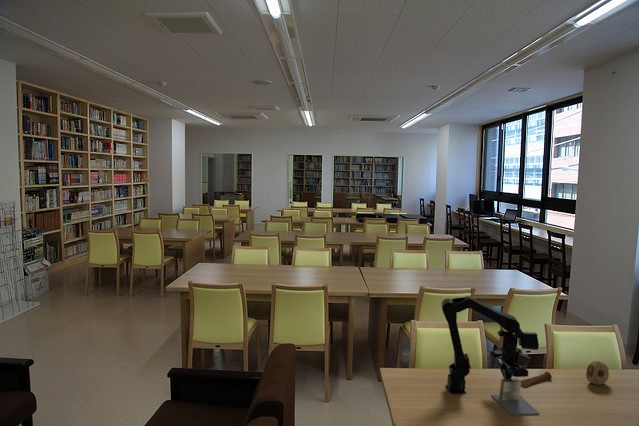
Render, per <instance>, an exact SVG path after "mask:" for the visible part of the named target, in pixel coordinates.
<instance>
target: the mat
mask: <svg viewBox="0 0 639 426" xmlns="http://www.w3.org/2000/svg"><path fill="white" fill-rule="evenodd" d="M499 395H500V394H491V395H490V396H491V398H492V399H493V400H495V402H496V403H498V405H499V406H500V407H501V408H503V410H504V411H505V412H506V413H507V414H508V415H509V416H513V417H514V416H530V415H531V416H532V415H534V416H535V415H540V414H541V413H540V412H539V411H538V410H537V409H536V408H535V407H533V405H532V404H530V403H529V402H528V401H527V400H526V399H525V398H524V397H522V396H521V395H520V394H519V400H502V399H501V398H500V397H499Z"/></svg>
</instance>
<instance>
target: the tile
mask: <svg viewBox="0 0 639 426" xmlns="http://www.w3.org/2000/svg"><path fill="white" fill-rule="evenodd" d="M521 388H522V387H521V380H520V379H519V378H511V379H504V378H501V380H500V389H499V394H498V395H499V397H500V398H501V399H502V400H519V395H520V394H521V393H520V392H521Z"/></svg>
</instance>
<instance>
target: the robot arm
mask: <svg viewBox="0 0 639 426" xmlns="http://www.w3.org/2000/svg"><path fill="white" fill-rule="evenodd" d="M441 308H442V309H441V310H442V313H443V315H444V316H443V317H444V318H445V320H446V323H447V325H448V330H449V335H450V340H451V343H452V348H453V363H451V364H450V365H448V369H449V370H448V371H449V373H448V374H447V384H445V388H447V390H448V391H449V392H450V394H466V393H467V391H466V383H467V382H466V377H467V376H468V375H469V374H470V370H471V369H472V367H471V363H470V358H469V354H468V353H465V352H464V350H463V345H462V342H461V341H462V340H461V337H460V336H461V335H460V333H459V327H458V323H457V321H458V320H457V319H458V318H457V315H458V314H457V313H461V312H463V311H465V310H466V309H471V310H472V311H475V312H476V313H478V314H481V315H482V316H485V318H486V317H487V318H488V319H490V320H492V321H494V322H495V323H497V324H498V325H499V326H500V327H501V329H500V330H498V331H497V335H498V337H502V339H501V346H499V349H498V350H491V352H490V354H489V357H490V358H491V359H492V360H495V359H496V358H498V359H497V360H498V362H497V363H496V364H497V366H498V368H499V370H500V372H501V375H502V377H503V378H502V379H513V378H512V377H515V378H521V377H522V378H526V377H529V370H528V369H527V368H526V367H524V366H523V365H524V364H525V365H526V366H528V364H529V363H530V361H531V357H529V356H528V355H527V354H525V353H523V351H522V349H524V350H525V349H526V350H531V351H533V350H534V351H537V350H539V346H540V345H539V338H538V334H537V332H534V331H533V332H532V331H531V332H530V331H529V332H527V331H523V330H522V328H521V326H520V322H519V321H518V319H517V318H516V317H515V316H514V315H511V314H510V313H506V312H501V311H498V310H496V309H494V308H492V307H490V306H488V305H486V304H485V303H483V302H481V301H479V300H477V299H474V298H473V297H472V296H471V295H466V296H463V297H453V298H448V297H447V298H445V299H443V300H442V301H441ZM518 346H520V348H521V349H520V348H519V347H518ZM520 363H521V364H523V365H520ZM518 364H519V365H518Z"/></svg>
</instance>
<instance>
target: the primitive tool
mask: <svg viewBox="0 0 639 426" xmlns="http://www.w3.org/2000/svg"><path fill="white" fill-rule="evenodd" d="M552 377H553V376H552V375H551V373H550V372H549V371H545V372H544V373H543V374H542V373H541V374H539V375H537V376H533V377H530V378H526V379H521V380H520V381H521V387H520V388H523V389H528V388H529V387H531V386H533V385H536V384H539V383H541V382H543V381H546V380H552V379H553V378H552Z"/></svg>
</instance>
